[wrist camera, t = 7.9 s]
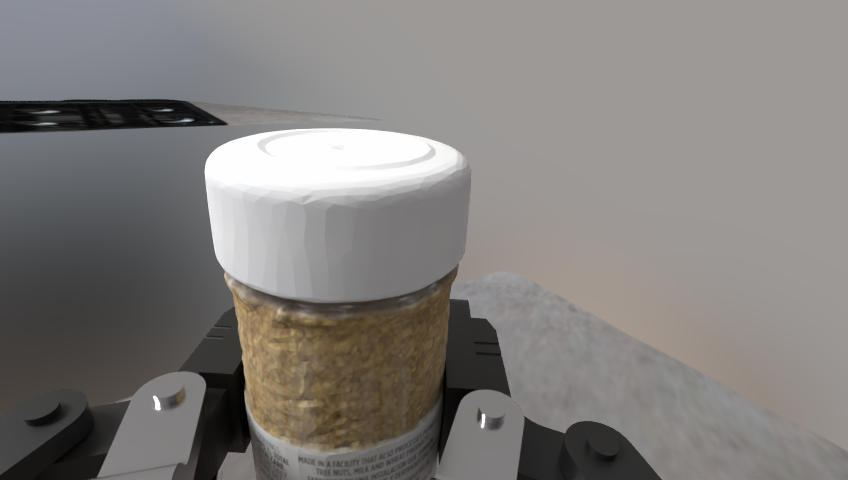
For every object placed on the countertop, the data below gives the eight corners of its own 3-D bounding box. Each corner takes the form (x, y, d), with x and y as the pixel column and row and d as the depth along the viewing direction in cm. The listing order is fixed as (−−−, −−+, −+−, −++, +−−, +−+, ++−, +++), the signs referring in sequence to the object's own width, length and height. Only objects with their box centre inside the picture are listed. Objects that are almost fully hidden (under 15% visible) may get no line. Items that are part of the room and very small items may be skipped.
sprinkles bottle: (417, 510, 15) (450, 126, 10) (436, 681, 11) (509, 184, 6) (285, 520, 15) (243, 117, 9) (253, 705, 11) (142, 174, 5)
